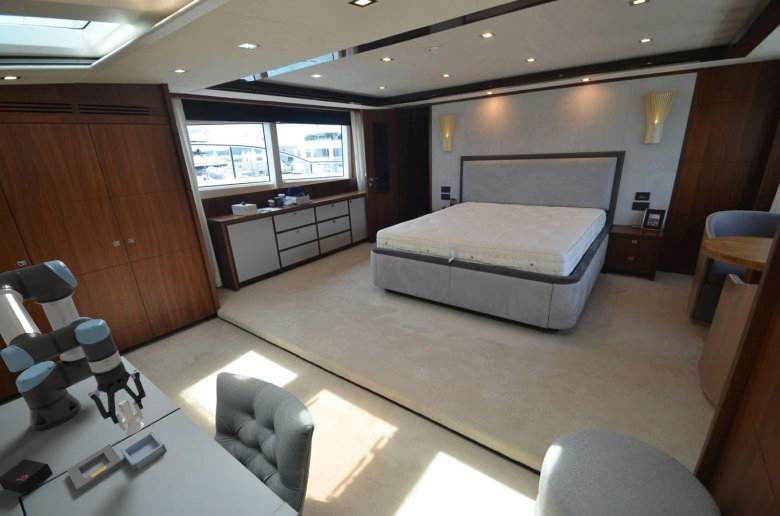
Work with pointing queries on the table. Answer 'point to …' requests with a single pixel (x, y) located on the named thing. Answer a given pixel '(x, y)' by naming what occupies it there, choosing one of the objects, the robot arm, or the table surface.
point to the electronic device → (25, 476)
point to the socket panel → (99, 474)
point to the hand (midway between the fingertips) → (132, 422)
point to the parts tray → (143, 451)
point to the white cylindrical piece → (130, 418)
